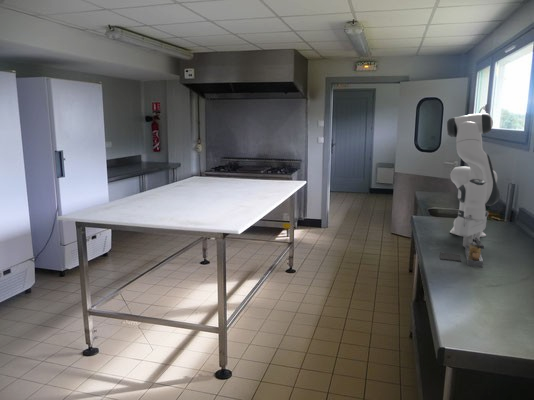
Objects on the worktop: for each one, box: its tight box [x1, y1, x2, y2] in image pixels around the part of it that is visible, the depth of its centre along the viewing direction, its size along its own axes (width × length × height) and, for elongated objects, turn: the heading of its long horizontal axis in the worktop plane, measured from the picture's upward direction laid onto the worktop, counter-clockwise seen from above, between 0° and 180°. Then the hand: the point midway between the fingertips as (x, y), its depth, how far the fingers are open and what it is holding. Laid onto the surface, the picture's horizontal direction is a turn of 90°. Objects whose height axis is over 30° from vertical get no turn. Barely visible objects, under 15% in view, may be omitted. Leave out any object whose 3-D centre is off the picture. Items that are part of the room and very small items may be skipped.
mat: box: [439, 252, 462, 263], centre depth 200 cm, size 10×9×1 cm
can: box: [462, 232, 481, 248], centre depth 215 cm, size 8×8×12 cm
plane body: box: [464, 242, 484, 269], centre depth 197 cm, size 24×6×7 cm, turn 158°
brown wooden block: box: [469, 244, 482, 257], centre depth 195 cm, size 6×4×4 cm
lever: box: [475, 237, 485, 250], centre depth 199 cm, size 19×2×1 cm, turn 166°
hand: (471, 242), depth 200 cm, fingers closed
